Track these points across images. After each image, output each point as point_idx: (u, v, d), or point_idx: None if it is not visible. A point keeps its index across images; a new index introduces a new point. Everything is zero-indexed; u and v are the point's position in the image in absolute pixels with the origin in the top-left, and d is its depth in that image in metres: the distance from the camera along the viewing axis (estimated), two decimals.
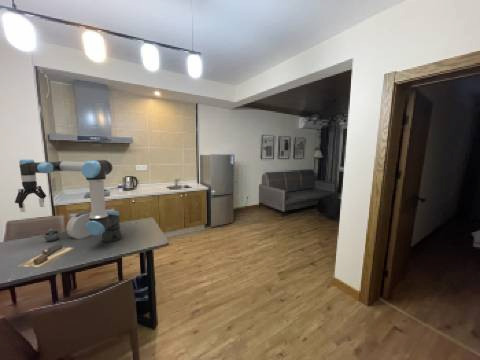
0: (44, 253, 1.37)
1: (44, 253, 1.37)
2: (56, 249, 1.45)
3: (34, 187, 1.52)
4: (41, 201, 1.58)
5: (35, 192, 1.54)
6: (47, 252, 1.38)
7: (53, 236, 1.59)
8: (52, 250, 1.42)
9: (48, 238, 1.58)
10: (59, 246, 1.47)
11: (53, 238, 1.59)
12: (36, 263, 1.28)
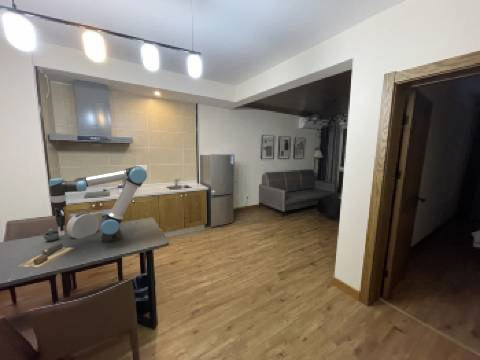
0: (44, 253, 1.37)
1: (44, 253, 1.37)
2: (56, 249, 1.45)
3: (58, 209, 1.37)
4: None
5: None
6: (47, 252, 1.38)
7: (53, 236, 1.59)
8: (52, 250, 1.42)
9: (48, 238, 1.58)
10: (59, 246, 1.47)
11: (53, 238, 1.59)
12: (36, 263, 1.28)
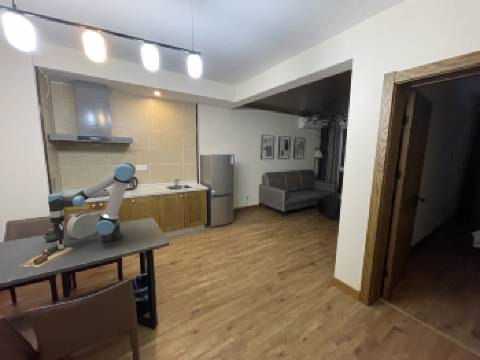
0: (44, 253, 1.37)
1: (44, 253, 1.37)
2: (56, 249, 1.45)
3: (57, 223, 1.42)
4: None
5: None
6: (47, 252, 1.38)
7: (53, 236, 1.59)
8: (52, 250, 1.42)
9: (48, 238, 1.58)
10: None
11: (53, 238, 1.59)
12: (36, 263, 1.28)
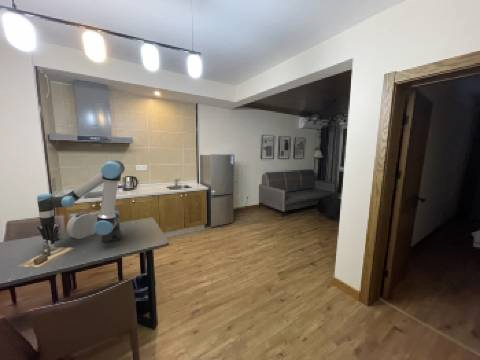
0: (47, 252, 1.38)
1: (48, 252, 1.38)
2: None
3: (51, 223, 1.43)
4: None
5: None
6: (49, 251, 1.39)
7: None
8: None
9: None
10: (48, 247, 1.46)
11: None
12: (36, 263, 1.28)
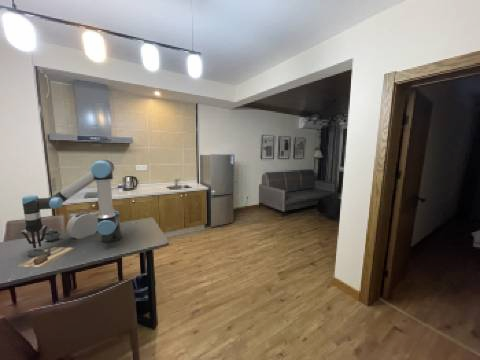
0: (49, 251, 1.39)
1: None
2: None
3: (39, 224, 1.40)
4: None
5: (36, 232, 1.40)
6: None
7: (53, 236, 1.59)
8: None
9: (48, 238, 1.58)
10: None
11: (53, 238, 1.59)
12: (36, 263, 1.28)
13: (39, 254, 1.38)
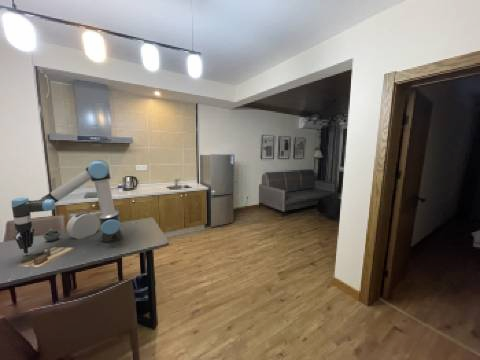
0: None
1: None
2: None
3: (29, 227, 1.34)
4: None
5: None
6: None
7: (53, 236, 1.59)
8: None
9: (48, 238, 1.58)
10: None
11: (53, 238, 1.59)
12: (36, 263, 1.28)
13: None
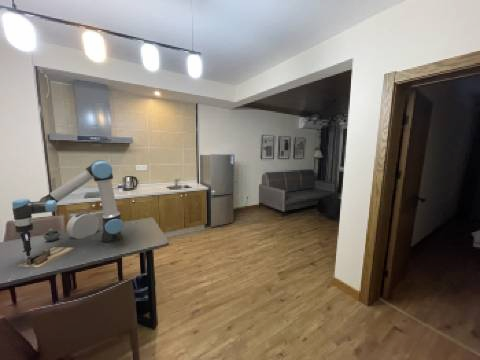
0: None
1: None
2: None
3: None
4: None
5: None
6: None
7: (53, 236, 1.59)
8: None
9: (48, 238, 1.58)
10: None
11: (53, 238, 1.59)
12: (36, 263, 1.28)
13: None
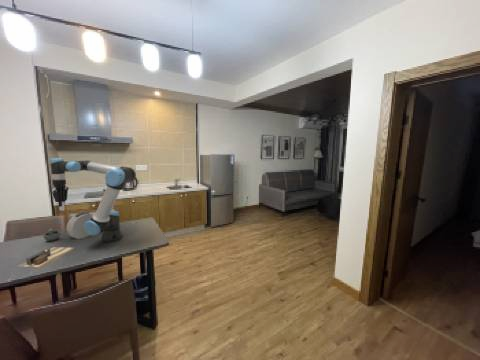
0: None
1: None
2: None
3: None
4: None
5: (61, 191, 1.55)
6: None
7: (53, 236, 1.59)
8: None
9: (48, 238, 1.58)
10: None
11: (53, 238, 1.59)
12: (36, 263, 1.28)
13: None
